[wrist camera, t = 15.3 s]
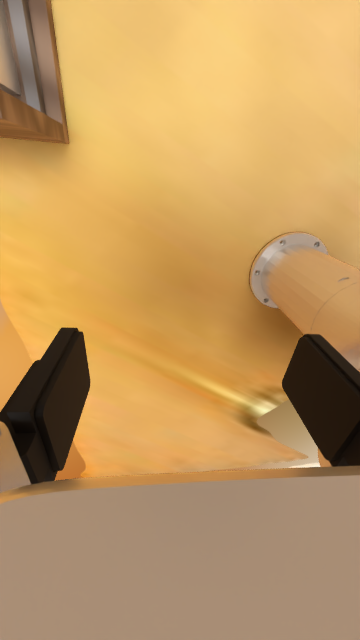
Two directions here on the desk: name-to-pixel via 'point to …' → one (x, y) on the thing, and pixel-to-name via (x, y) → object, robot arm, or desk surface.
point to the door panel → (7, 59)
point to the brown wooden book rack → (33, 76)
